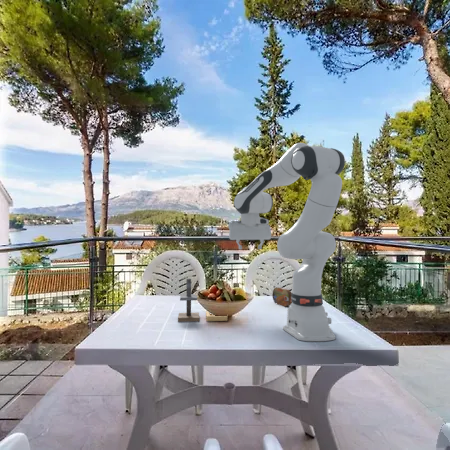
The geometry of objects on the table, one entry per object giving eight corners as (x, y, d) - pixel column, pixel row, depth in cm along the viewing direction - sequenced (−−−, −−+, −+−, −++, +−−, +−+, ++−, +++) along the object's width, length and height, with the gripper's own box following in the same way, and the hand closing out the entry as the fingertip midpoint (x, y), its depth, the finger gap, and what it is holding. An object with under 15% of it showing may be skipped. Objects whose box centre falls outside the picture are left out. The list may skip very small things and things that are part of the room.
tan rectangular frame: (227, 320, 164) (227, 316, 164) (206, 321, 163) (206, 316, 163) (224, 312, 178) (224, 308, 178) (205, 312, 177) (205, 308, 177)
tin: (271, 302, 200) (271, 286, 200) (276, 301, 202) (277, 285, 202) (288, 308, 187) (288, 291, 187) (293, 307, 188) (293, 290, 188)
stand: (199, 321, 163) (199, 280, 162) (177, 321, 162) (177, 280, 162) (199, 315, 172) (199, 277, 171) (178, 316, 171) (178, 277, 171)
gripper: (229, 220, 179) (229, 249, 179) (272, 220, 181) (272, 249, 181) (227, 220, 185) (227, 248, 185) (269, 220, 187) (269, 248, 187)
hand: (250, 249), depth 183 cm, fingers open, 8 cm apart
